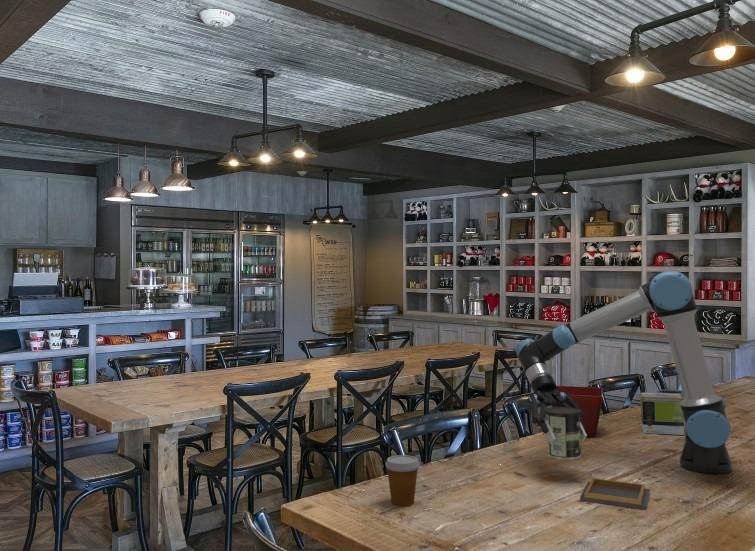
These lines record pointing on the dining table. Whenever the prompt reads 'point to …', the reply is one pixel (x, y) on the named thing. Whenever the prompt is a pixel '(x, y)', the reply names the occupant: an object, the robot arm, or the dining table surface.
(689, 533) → the dining table surface
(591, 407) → the plant pot
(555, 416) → the coffee can
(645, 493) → the mount plate
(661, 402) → the tea box
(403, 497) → the disposable coffee cup
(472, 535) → the dining table surface
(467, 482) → the dining table surface
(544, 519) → the dining table surface
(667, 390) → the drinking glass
